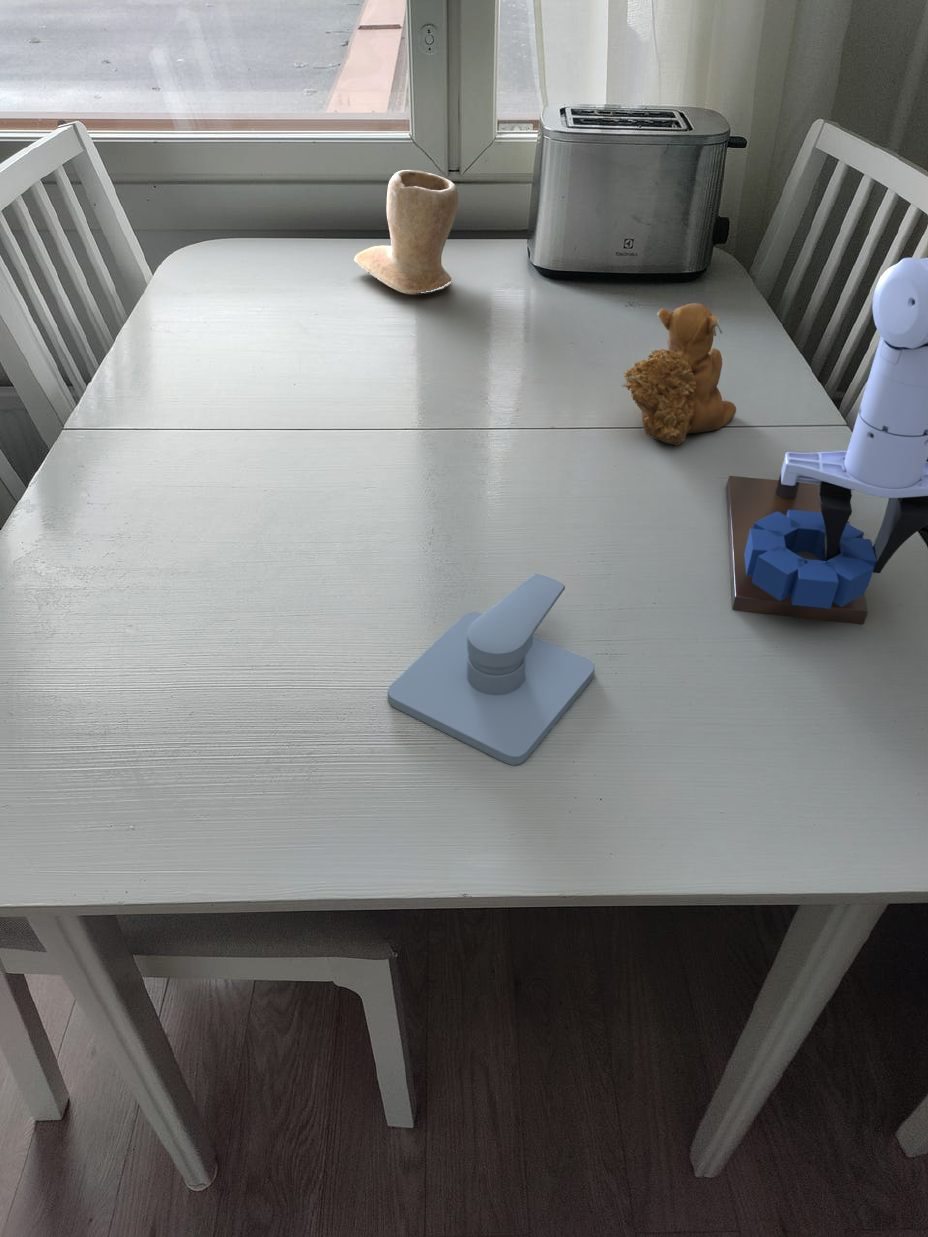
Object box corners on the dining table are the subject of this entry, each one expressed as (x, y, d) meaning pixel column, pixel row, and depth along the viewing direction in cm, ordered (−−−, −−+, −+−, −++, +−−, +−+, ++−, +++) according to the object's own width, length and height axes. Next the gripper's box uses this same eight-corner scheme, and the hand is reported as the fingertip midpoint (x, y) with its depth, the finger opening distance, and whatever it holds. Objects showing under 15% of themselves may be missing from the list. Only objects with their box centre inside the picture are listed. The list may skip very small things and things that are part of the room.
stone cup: (473, 289, 139) (474, 180, 129) (401, 306, 134) (396, 194, 124) (421, 257, 149) (419, 153, 139) (353, 272, 144) (345, 166, 134)
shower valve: (620, 602, 75) (521, 717, 66) (613, 654, 79) (518, 769, 69) (487, 550, 81) (378, 649, 71) (486, 601, 84) (382, 701, 75)
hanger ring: (856, 542, 85) (864, 516, 84) (874, 613, 78) (884, 586, 76) (741, 531, 87) (747, 505, 85) (748, 601, 79) (755, 574, 77)
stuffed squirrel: (739, 413, 110) (762, 301, 102) (688, 466, 101) (708, 348, 93) (660, 390, 115) (675, 281, 106) (604, 439, 106) (616, 325, 97)
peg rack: (837, 498, 97) (848, 459, 94) (863, 624, 82) (878, 583, 79) (726, 487, 98) (734, 449, 95) (732, 609, 83) (741, 568, 80)
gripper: (992, 404, 74) (936, 547, 82) (797, 384, 76) (762, 525, 85) (1009, 449, 68) (947, 597, 77) (799, 426, 71) (762, 572, 80)
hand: (851, 563), depth 81 cm, fingers closed on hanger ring, 3 cm apart
